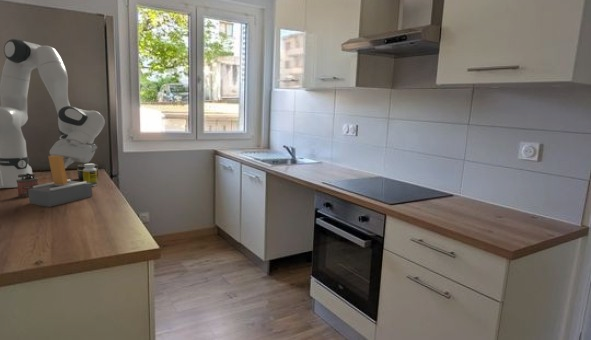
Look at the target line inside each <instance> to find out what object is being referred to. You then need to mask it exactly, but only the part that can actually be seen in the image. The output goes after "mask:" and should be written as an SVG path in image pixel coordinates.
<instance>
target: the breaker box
mask: <svg viewBox="0 0 591 340" xmlns="http://www.w3.org/2000/svg"><path fill="white" fill-rule="evenodd" d="M67 182H68V183H67V184H64V185H62V184H55V183H54V182H47V183H42V184H38V185H36V186H33V189H28V192H29V196H28V201H29V205H30V204H31V205H36V206H41V207H42V206H43V207H48V208H50V207H55V206H59V205H62V204H67V203H70V202H75V201H79V200H80V201H81V200H84V199H86V198H87V199H88V198H91V197H93V188H92V187H93V186H92V184H91V183H87V182H86V181H85V182H83V181H75V180H72V179H68V178H67Z"/></svg>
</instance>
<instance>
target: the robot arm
mask: <svg viewBox="0 0 591 340" xmlns="http://www.w3.org/2000/svg"><path fill="white" fill-rule="evenodd" d="M3 53H4V56H5V60H4V61H5V62H4V65H3V67H2V71H1V76H0V189H5V188H6V189H9V188H10V189H11V188H18V186H17V181H16V180H18V179H22V177H18V175H19V174H26V173H29V174H33V169H32V166H31V165H29V163H30V161H29V160H30V159H29V156H28V152H27V151H28V150H27V141H26V139H25V136H24V133H23V131H22V127H23V126H24V125H25V124H26V123H27V122H28V119H29V116H28V115H29V114H28V94H29V93H28V92H29V88H30V81H31V74H32V71H33V70H34V69H37V72H38V74H39V77H40V79H41V81H42V82H43V84H44V86H45V88H46V90H47V92H48V94H49V96H50V98H51V100H52V103H53V105H54V108H55V111H56V114H57V122H58V125H57V129H58V130H57V131H58V133H59V134H60V136H59V140H57V141H56V142H55V143H54V144H53V145H52V147H51V148H50V150H49V156H51V155H57V156H63V161H64V166H65V169H67V168H68V167H69V166H70V165H71V164H73V163H74V162H79V163H83V164H89V162H90V163H91V161H92V159H93V157H94V155H95V153H96V150H97V149H98V146H97V144H96V143H95V139H96V138H97V137H98V135H100V133H101V132H102V130H103V129H104V127H105V124H106V120H105V118H104V115H102V114H101V113H100V112H99V111H96V110H94V109H93V110H85V109H81V108H78V107H76V106H72V105H71V104H70V100H69V90H68V89H69V78H68V77H69V76H68V71H67V68H66V65H65V63H64V61H63V59H62V57H61V55H60V53H59V52H58V50H56V48H54V47H53V46H50V45H41V44H37V43H34V42H29V41H24V40H22V39H18V38H17V39H16V38H11V39H9V40H7V41H6V43H4V47H3ZM31 177H32V176H31ZM24 179H25V177H24Z"/></svg>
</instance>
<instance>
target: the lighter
mask: <svg viewBox="0 0 591 340" xmlns="http://www.w3.org/2000/svg"><path fill="white" fill-rule="evenodd" d="M35 175H36V174H35V173H32V174H29V173H26V174H19V175H18V177H22V179H18V180H16V181H17V186H18V187H17V192H18V194H17V197H18V198H21V197H22V198H23V197H24V196H26V197H29V192H28V189H33V186H36V185H39V177H35ZM31 176H32V177H31ZM24 177H25V179H24ZM24 198H25V197H24Z"/></svg>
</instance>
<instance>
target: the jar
mask: <svg viewBox="0 0 591 340" xmlns="http://www.w3.org/2000/svg"><path fill="white" fill-rule="evenodd" d="M84 164H85V163H83V164H82V163H81V164H78V165H77V166H76V167H77V168H76V169H77V177H78V179H79V180H80V181H83V169H84V168H85V167H84ZM94 164H95V167H94V168H96V170H97V179H98V177H99V165H98V164H96V163H94Z"/></svg>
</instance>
